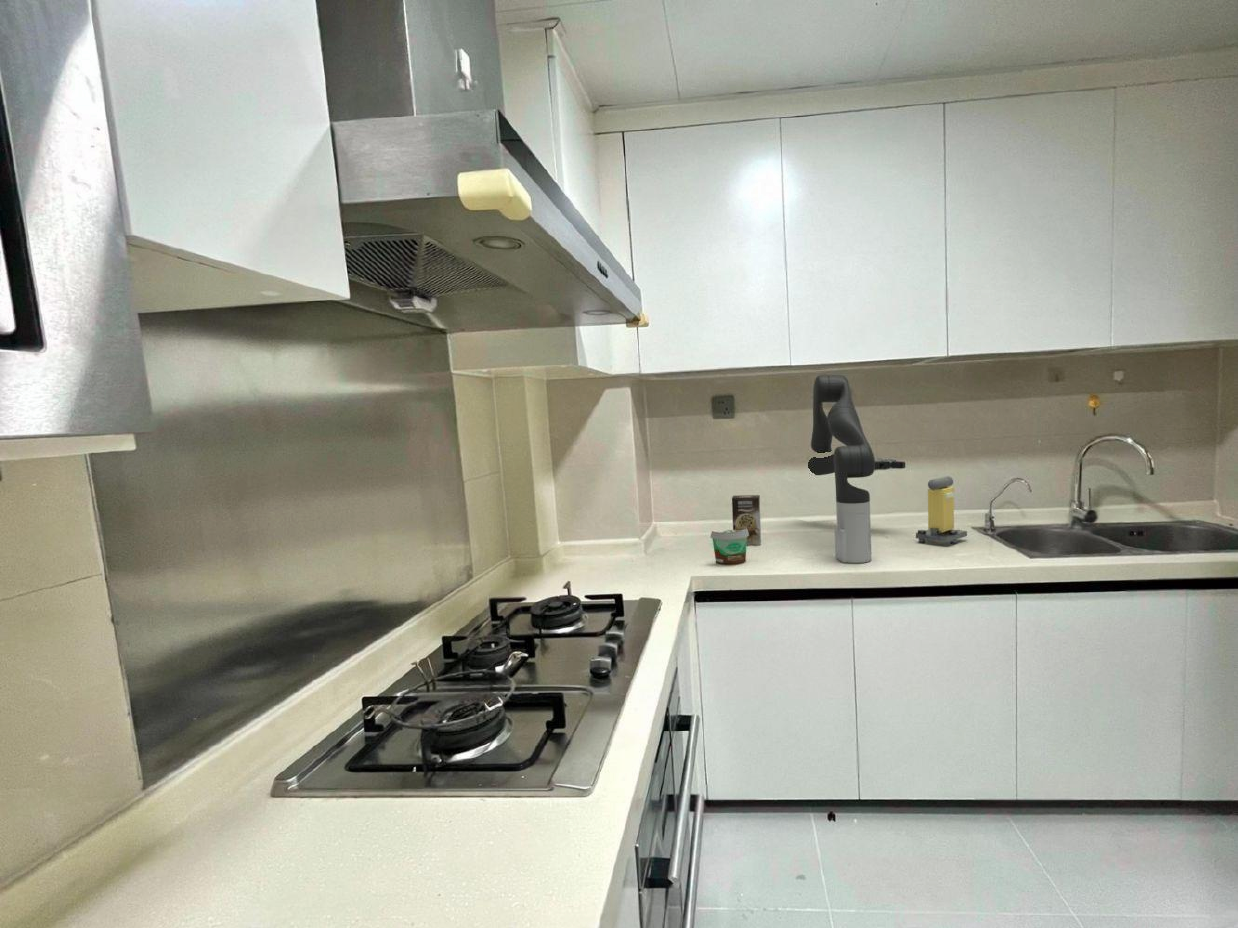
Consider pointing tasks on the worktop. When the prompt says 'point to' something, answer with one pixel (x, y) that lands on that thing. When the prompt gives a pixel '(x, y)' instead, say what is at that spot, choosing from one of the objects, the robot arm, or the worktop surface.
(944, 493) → the grey-capped yellow box
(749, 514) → the coffee box
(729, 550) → the food container
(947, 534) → the tribrach
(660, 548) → the worktop surface
